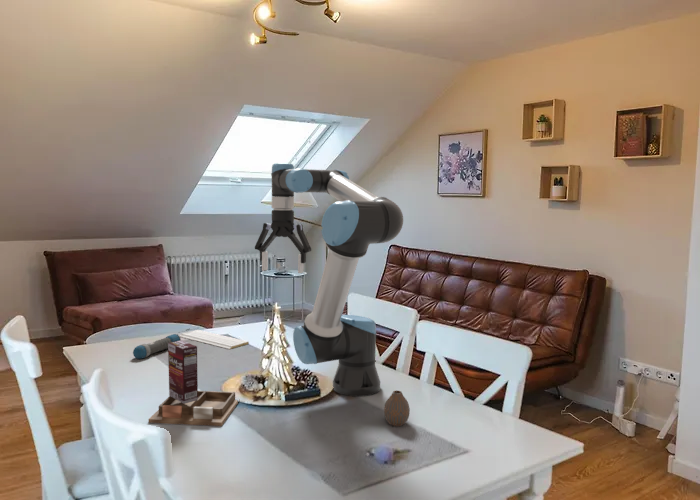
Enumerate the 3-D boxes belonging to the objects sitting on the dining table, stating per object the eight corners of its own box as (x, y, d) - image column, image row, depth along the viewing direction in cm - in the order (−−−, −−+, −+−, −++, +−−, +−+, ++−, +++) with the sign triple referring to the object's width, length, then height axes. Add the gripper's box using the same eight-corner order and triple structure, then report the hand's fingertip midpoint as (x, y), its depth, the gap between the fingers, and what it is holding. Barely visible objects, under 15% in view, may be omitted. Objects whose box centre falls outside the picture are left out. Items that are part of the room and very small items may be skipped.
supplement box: (168, 396, 167) (167, 342, 165) (183, 392, 170) (182, 339, 169) (183, 404, 161) (182, 348, 159) (198, 400, 164) (198, 345, 163)
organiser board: (239, 401, 172) (239, 388, 171) (221, 426, 154) (221, 411, 154) (173, 398, 173) (173, 385, 173) (148, 422, 156) (148, 408, 155)
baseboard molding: (226, 351, 226) (248, 345, 235) (226, 344, 225) (248, 338, 235) (175, 338, 244) (198, 333, 253) (175, 331, 243) (198, 326, 253)
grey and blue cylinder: (181, 346, 230) (180, 334, 230) (141, 361, 210) (140, 347, 210) (171, 345, 232) (170, 333, 232) (130, 359, 212) (130, 346, 212)
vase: (388, 429, 154) (389, 397, 153) (380, 419, 160) (381, 388, 159) (413, 426, 156) (413, 395, 155) (404, 417, 162) (404, 386, 161)
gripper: (321, 210, 196) (320, 272, 198) (255, 208, 204) (255, 267, 206) (312, 210, 189) (311, 275, 191) (244, 208, 197) (245, 270, 199)
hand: (282, 271), depth 198 cm, fingers open, 13 cm apart
